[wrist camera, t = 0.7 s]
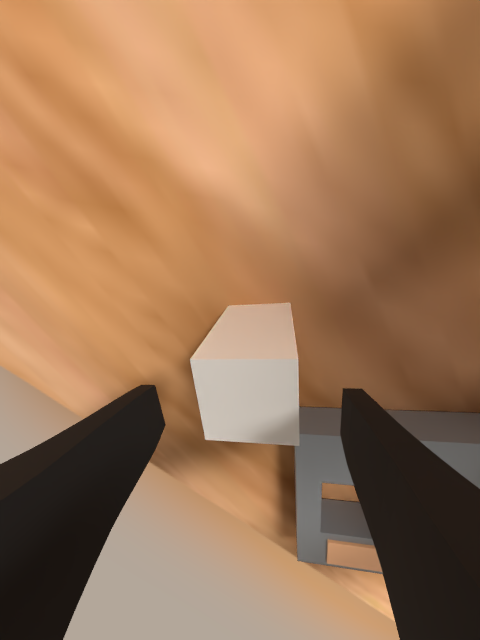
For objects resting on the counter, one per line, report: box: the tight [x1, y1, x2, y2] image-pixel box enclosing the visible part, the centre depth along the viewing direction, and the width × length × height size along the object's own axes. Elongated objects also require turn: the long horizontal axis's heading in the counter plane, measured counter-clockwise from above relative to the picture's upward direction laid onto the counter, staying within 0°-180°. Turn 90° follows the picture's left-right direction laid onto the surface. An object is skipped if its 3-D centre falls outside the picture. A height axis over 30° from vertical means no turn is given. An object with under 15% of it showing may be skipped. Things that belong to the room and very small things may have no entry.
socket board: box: [294, 407, 480, 574], centre depth 17 cm, size 18×14×3 cm
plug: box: [190, 303, 300, 446], centre depth 12 cm, size 4×4×7 cm
